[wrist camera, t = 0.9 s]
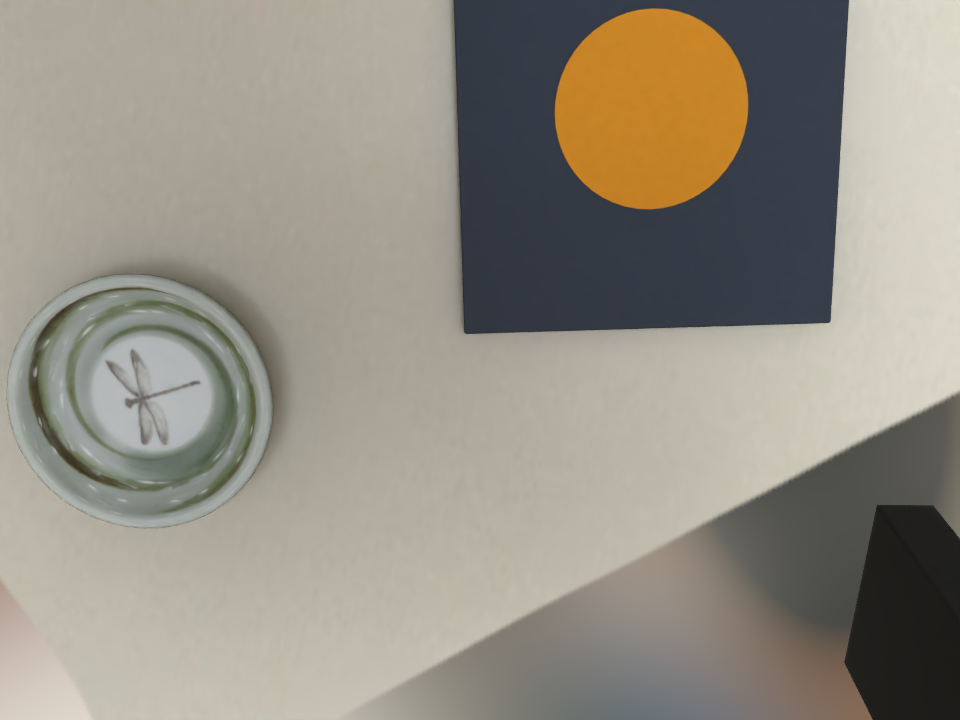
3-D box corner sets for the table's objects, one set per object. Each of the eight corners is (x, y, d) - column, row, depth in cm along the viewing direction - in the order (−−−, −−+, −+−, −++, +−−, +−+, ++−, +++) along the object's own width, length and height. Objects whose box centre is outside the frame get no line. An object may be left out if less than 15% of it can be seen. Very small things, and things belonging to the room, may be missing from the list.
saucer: (329, 434, 36) (320, 454, 34) (125, 546, 37) (102, 573, 35) (196, 220, 35) (176, 225, 32) (-16, 343, 35) (-51, 357, 33)
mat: (450, -119, 32) (449, -127, 31) (847, -129, 32) (858, -137, 31) (464, 330, 36) (464, 334, 35) (823, 319, 36) (832, 323, 35)
